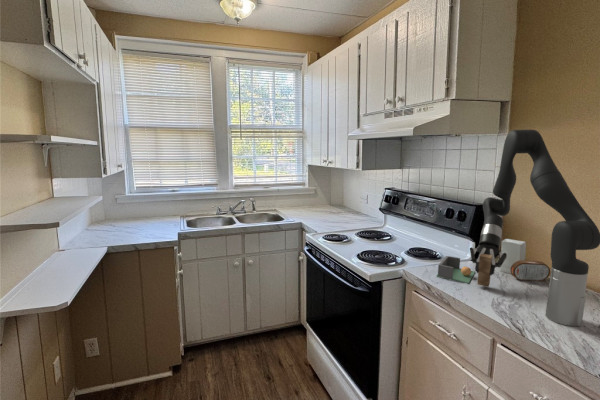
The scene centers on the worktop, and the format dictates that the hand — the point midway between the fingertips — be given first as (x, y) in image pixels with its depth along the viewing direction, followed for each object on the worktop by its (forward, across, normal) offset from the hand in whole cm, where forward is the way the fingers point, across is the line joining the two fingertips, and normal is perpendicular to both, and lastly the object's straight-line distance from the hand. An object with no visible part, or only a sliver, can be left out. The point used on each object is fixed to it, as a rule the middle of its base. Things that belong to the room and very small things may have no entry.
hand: (484, 273), depth 133 cm
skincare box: (-15, +8, +25) cm, 30 cm away
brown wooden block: (+2, 0, +5) cm, 6 cm away
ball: (-4, -8, +10) cm, 14 cm away
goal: (-3, -12, +12) cm, 17 cm away
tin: (-11, +15, +21) cm, 28 cm away
